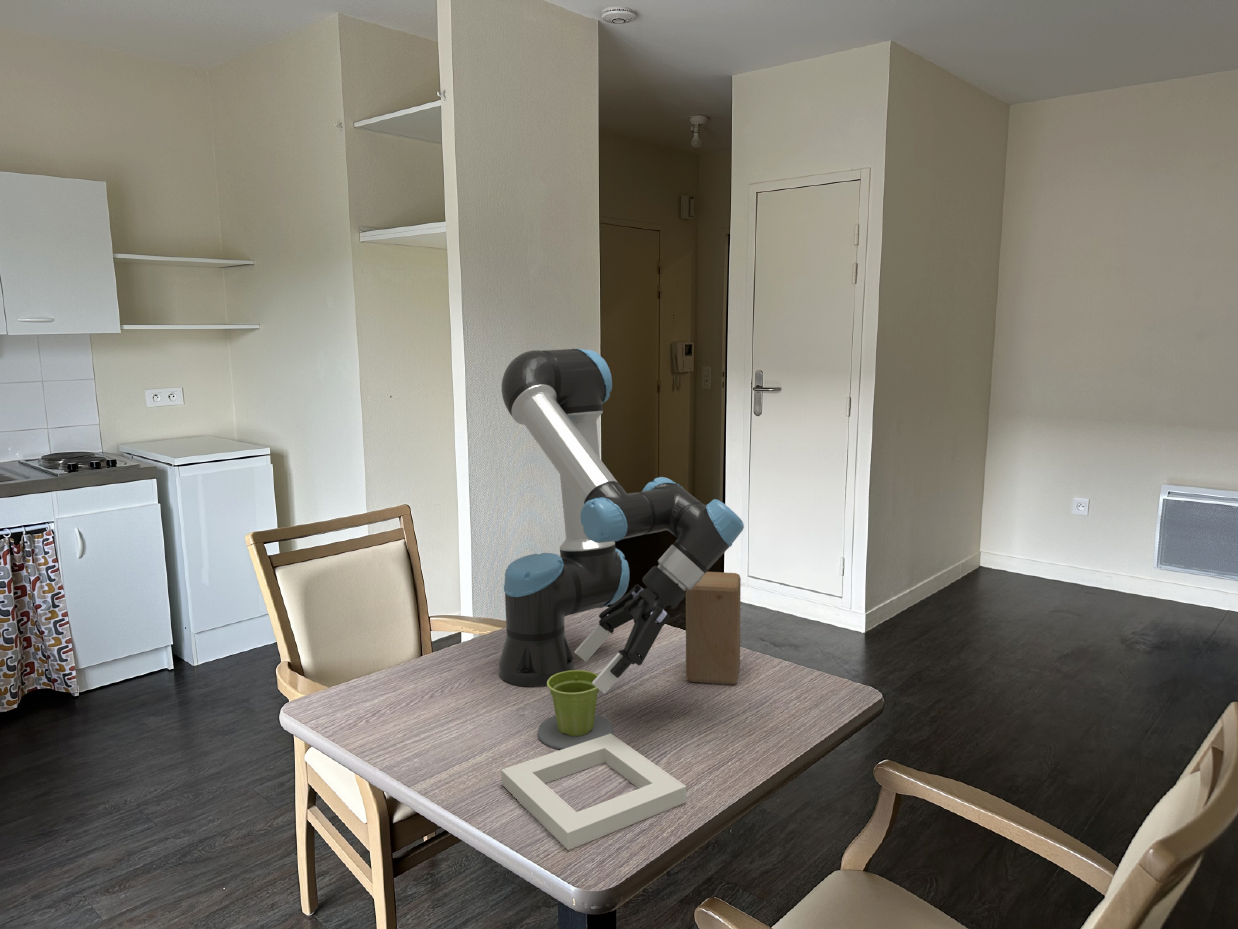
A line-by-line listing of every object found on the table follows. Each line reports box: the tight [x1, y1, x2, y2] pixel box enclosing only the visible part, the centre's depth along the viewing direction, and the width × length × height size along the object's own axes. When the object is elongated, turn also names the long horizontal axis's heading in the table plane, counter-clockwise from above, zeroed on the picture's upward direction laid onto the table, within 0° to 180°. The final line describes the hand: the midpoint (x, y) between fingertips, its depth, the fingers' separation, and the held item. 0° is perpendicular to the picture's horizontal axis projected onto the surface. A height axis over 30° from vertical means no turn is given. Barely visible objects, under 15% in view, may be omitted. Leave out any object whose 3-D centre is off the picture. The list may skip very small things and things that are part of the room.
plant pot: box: [546, 669, 600, 736], centre depth 145 cm, size 9×9×9 cm
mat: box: [537, 713, 615, 751], centre depth 145 cm, size 13×13×1 cm
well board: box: [500, 734, 687, 851], centre depth 126 cm, size 20×20×2 cm
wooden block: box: [685, 571, 742, 685], centre depth 167 cm, size 10×10×20 cm
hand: (588, 672), depth 143 cm, fingers open, 13 cm apart
